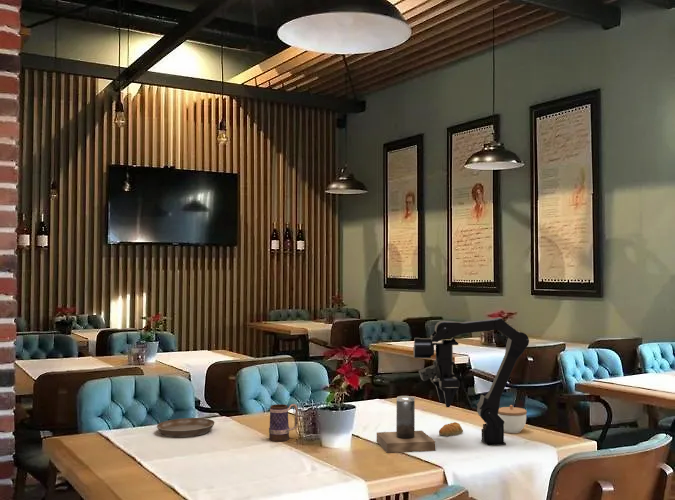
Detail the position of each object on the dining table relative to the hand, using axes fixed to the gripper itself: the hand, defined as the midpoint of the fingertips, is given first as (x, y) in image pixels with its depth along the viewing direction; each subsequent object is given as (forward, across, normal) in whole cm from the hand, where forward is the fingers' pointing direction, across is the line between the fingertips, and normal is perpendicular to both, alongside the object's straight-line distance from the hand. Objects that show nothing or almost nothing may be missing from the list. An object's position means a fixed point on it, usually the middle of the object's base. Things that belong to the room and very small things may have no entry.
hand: (444, 404), depth 249 cm
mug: (+13, -12, -54) cm, 57 cm away
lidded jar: (+13, -15, +28) cm, 34 cm away
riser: (+13, +2, -14) cm, 19 cm away
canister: (+10, +2, -14) cm, 17 cm away
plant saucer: (+14, -28, -89) cm, 94 cm away
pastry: (+14, -14, +5) cm, 20 cm away
